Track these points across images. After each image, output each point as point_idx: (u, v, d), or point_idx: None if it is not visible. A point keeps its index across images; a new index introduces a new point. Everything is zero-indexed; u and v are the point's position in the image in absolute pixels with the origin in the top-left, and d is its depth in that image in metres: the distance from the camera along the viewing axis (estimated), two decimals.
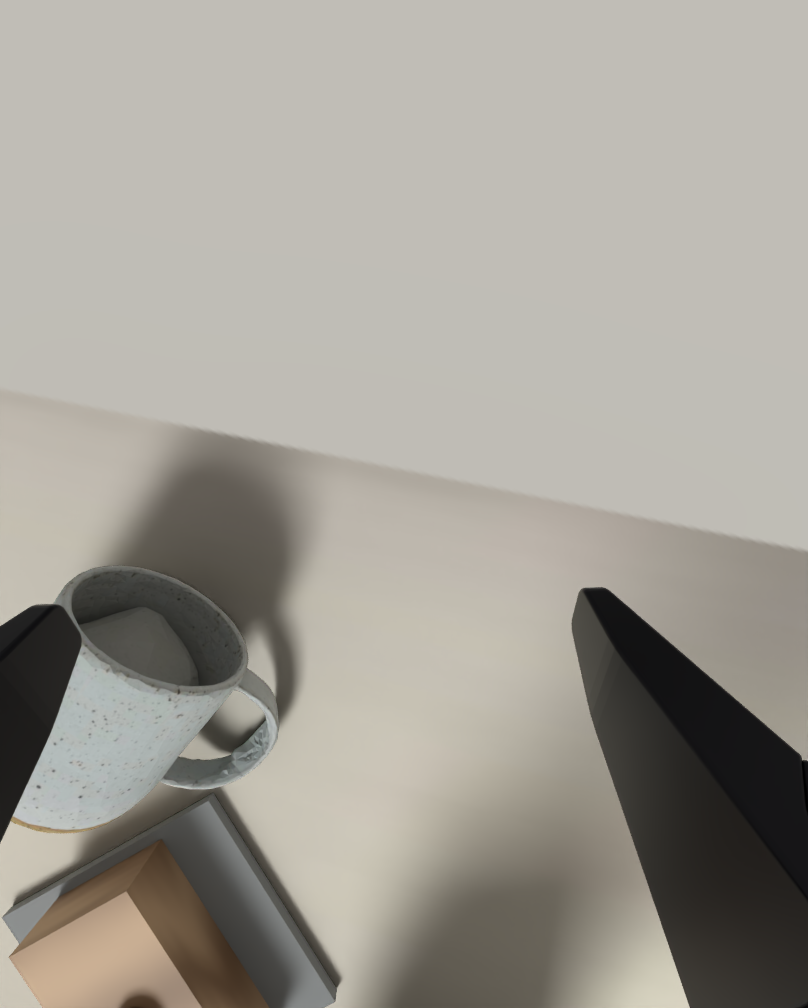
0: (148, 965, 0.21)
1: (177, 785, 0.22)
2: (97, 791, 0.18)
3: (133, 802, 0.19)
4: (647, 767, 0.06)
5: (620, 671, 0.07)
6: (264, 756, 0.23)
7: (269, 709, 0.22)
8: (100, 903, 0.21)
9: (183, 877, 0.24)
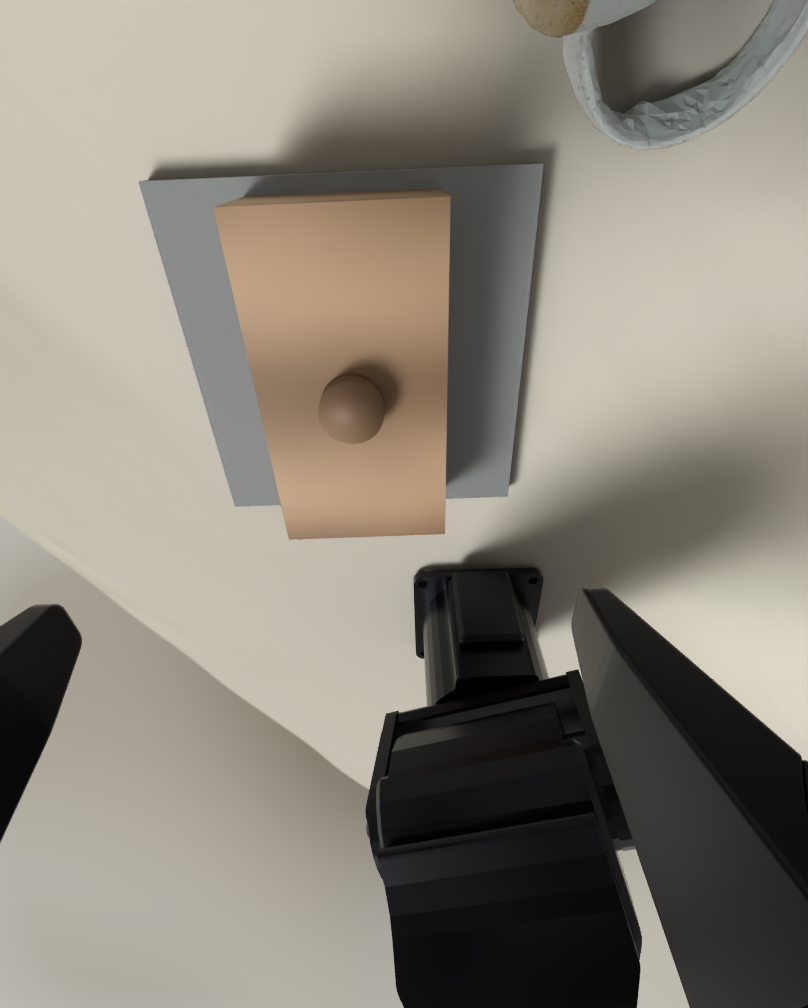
0: (413, 332, 0.14)
1: (589, 79, 0.12)
2: None
3: None
4: (647, 767, 0.06)
5: (620, 671, 0.07)
6: (699, 132, 0.13)
7: None
8: (390, 198, 0.13)
9: None
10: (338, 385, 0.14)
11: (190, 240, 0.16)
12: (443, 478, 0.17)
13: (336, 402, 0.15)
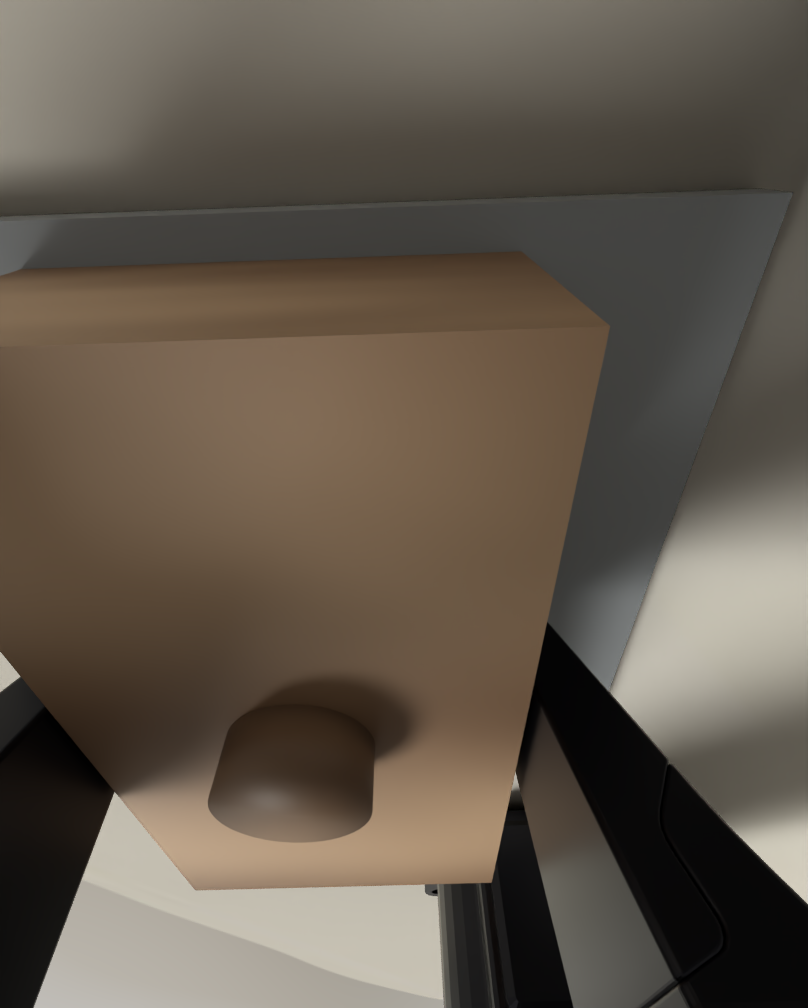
0: (453, 638, 0.05)
1: None
2: None
3: None
4: (538, 770, 0.06)
5: None
6: None
7: None
8: (393, 324, 0.04)
9: None
10: (253, 770, 0.06)
11: None
12: (498, 830, 0.08)
13: (252, 794, 0.06)
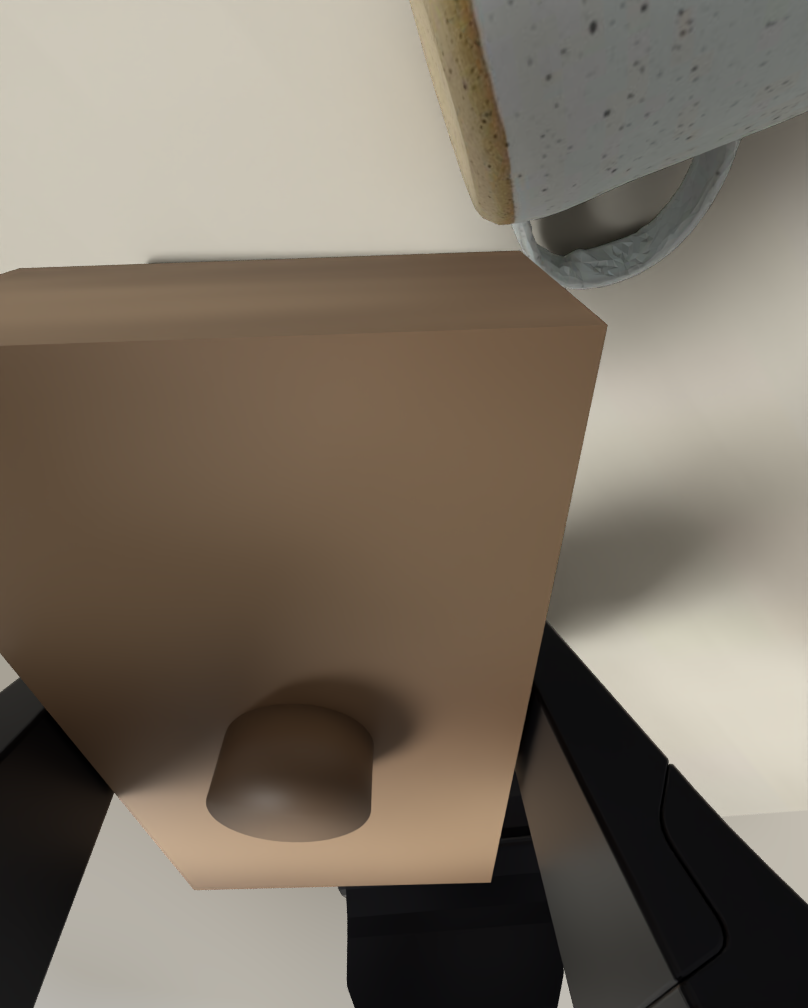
0: (451, 637, 0.05)
1: (528, 243, 0.15)
2: (622, 125, 0.10)
3: (559, 208, 0.12)
4: (537, 770, 0.06)
5: None
6: (624, 278, 0.16)
7: (708, 208, 0.14)
8: (390, 321, 0.04)
9: None
10: (251, 769, 0.06)
11: None
12: (496, 830, 0.08)
13: (250, 793, 0.06)
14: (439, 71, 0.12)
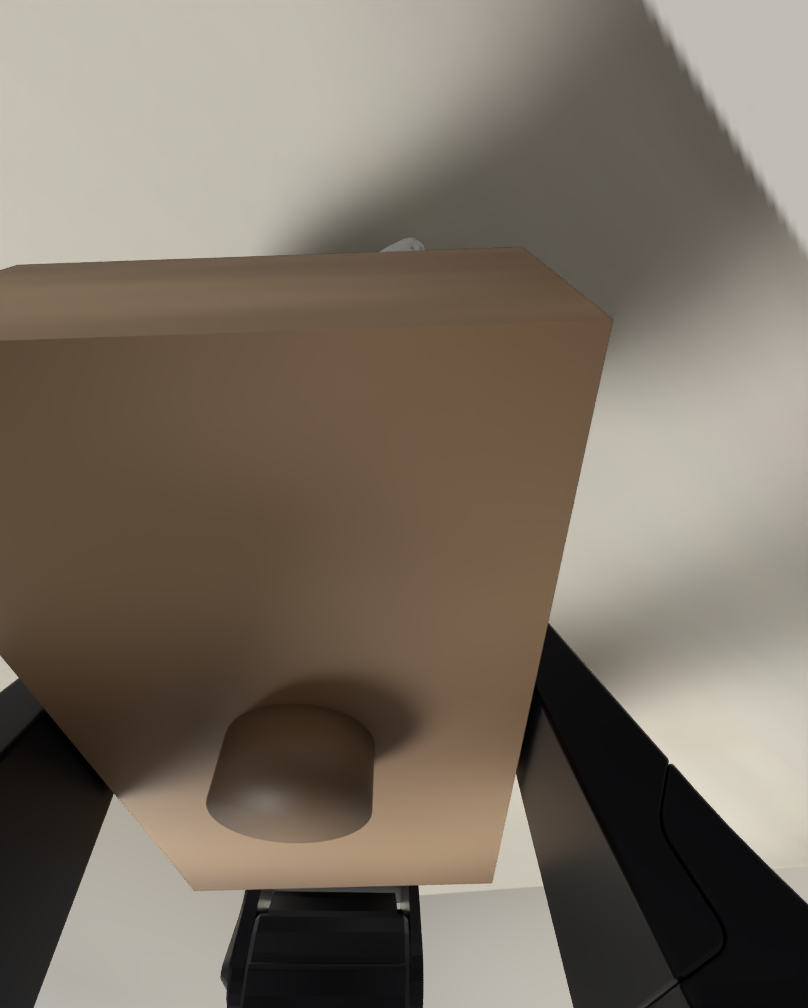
0: (453, 637, 0.05)
1: None
2: None
3: None
4: (538, 770, 0.06)
5: None
6: None
7: None
8: (394, 317, 0.04)
9: None
10: (252, 770, 0.05)
11: None
12: (498, 830, 0.08)
13: (251, 794, 0.06)
14: None
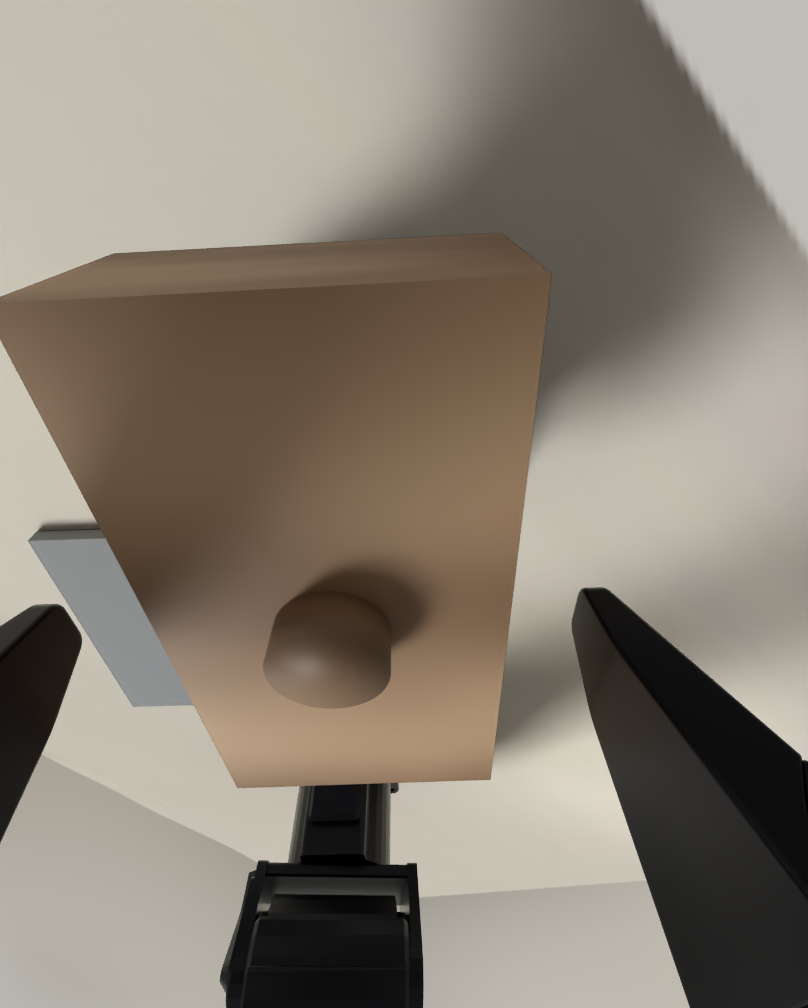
0: (451, 529, 0.07)
1: None
2: None
3: None
4: (647, 767, 0.06)
5: (620, 671, 0.07)
6: None
7: None
8: (404, 277, 0.05)
9: None
10: (300, 632, 0.07)
11: (71, 568, 0.21)
12: (493, 720, 0.10)
13: (298, 655, 0.07)
14: None
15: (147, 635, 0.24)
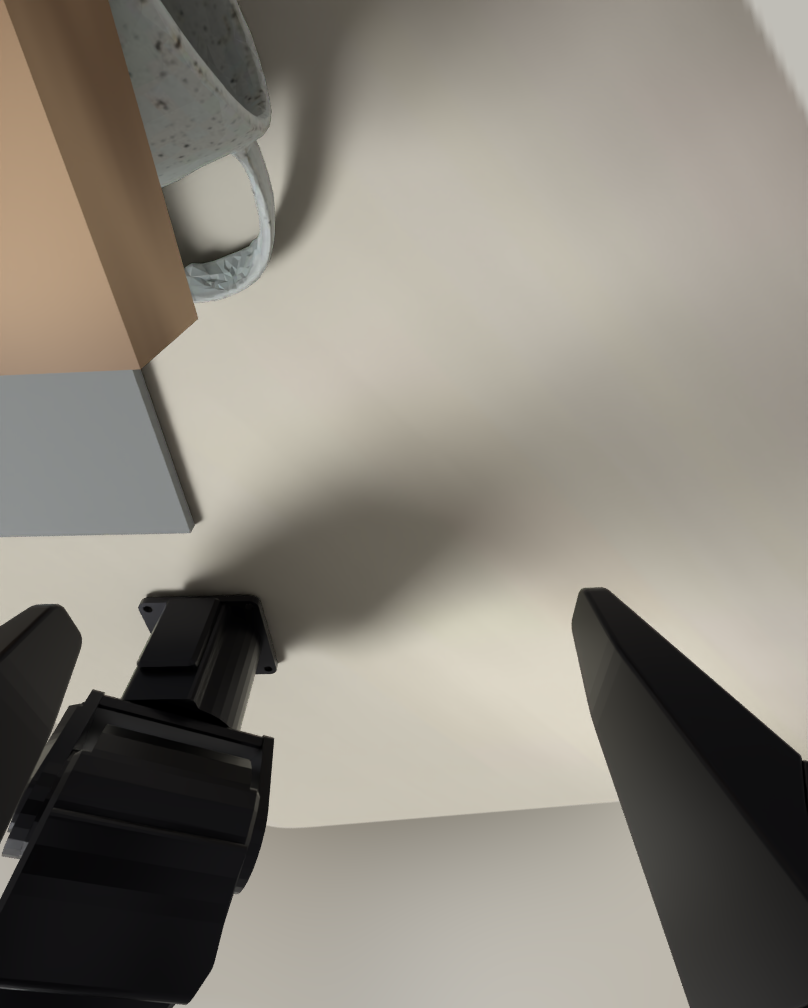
0: None
1: None
2: None
3: None
4: (647, 767, 0.06)
5: (620, 671, 0.07)
6: (233, 291, 0.16)
7: (270, 225, 0.15)
8: None
9: None
10: None
11: None
12: (69, 194, 0.07)
13: None
14: None
15: None
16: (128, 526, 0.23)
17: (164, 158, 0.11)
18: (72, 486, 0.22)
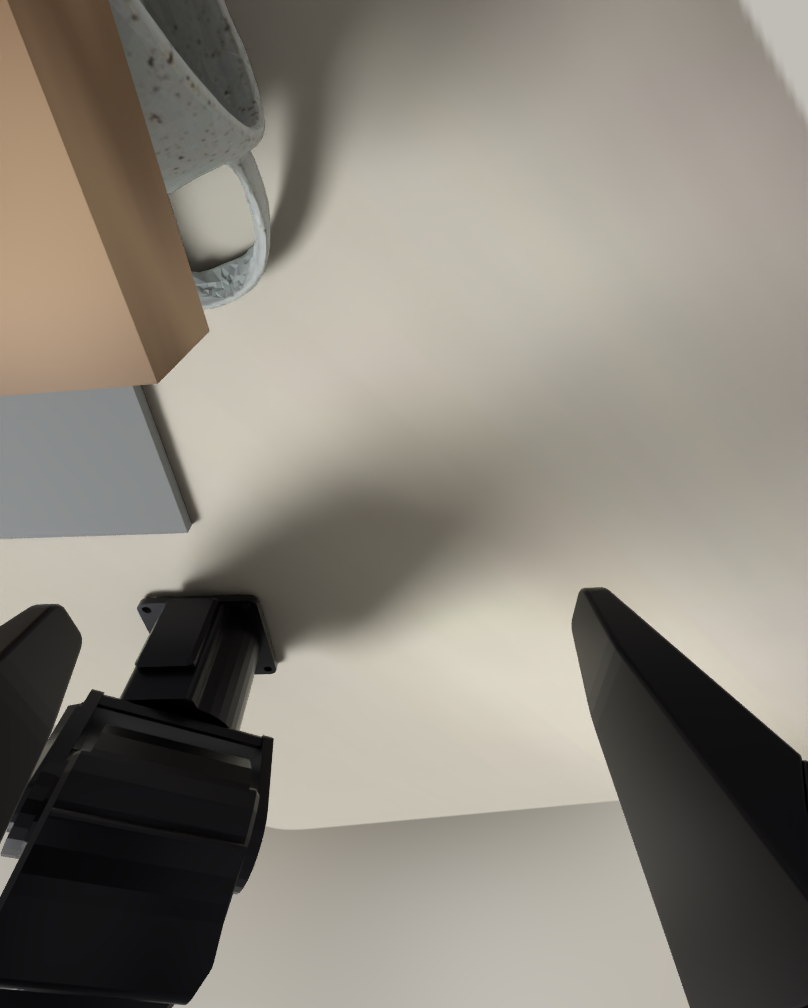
0: None
1: None
2: None
3: None
4: (647, 767, 0.06)
5: (620, 671, 0.07)
6: (231, 299, 0.17)
7: (265, 233, 0.15)
8: None
9: None
10: None
11: None
12: (87, 219, 0.07)
13: None
14: None
15: None
16: (125, 526, 0.23)
17: None
18: (69, 487, 0.22)
